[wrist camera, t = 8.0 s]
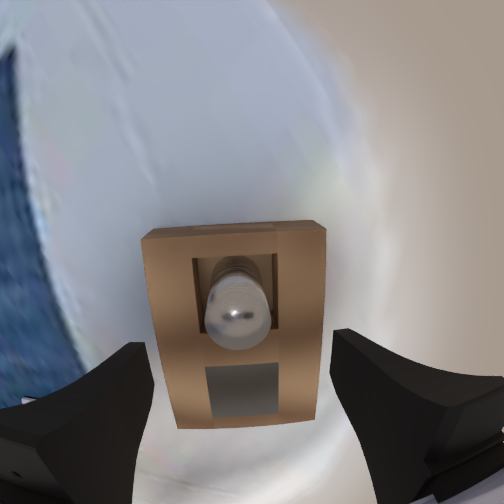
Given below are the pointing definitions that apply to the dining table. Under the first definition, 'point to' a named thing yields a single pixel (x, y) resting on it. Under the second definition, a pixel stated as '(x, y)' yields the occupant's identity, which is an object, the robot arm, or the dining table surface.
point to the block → (249, 360)
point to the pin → (237, 305)
